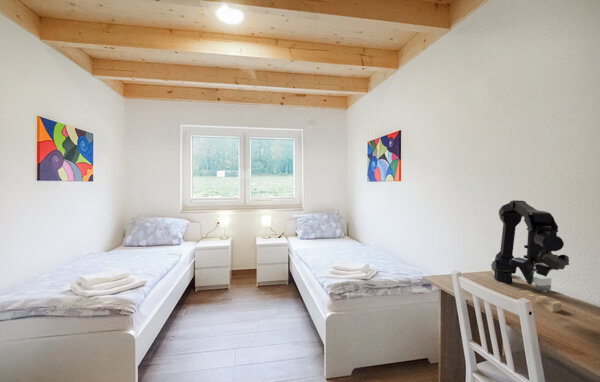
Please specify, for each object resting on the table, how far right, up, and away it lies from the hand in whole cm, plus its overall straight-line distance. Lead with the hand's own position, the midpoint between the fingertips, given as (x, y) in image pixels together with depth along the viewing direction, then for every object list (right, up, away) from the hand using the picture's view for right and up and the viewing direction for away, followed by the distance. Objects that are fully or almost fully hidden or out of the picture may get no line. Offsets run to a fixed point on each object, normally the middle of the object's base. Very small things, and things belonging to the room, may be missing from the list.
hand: (535, 283), depth 98 cm
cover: (0, +1, 0) cm, 1 cm away
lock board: (+11, -12, +9) cm, 18 cm away
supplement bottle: (+17, -10, +40) cm, 45 cm away
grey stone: (+21, -11, +18) cm, 30 cm away
